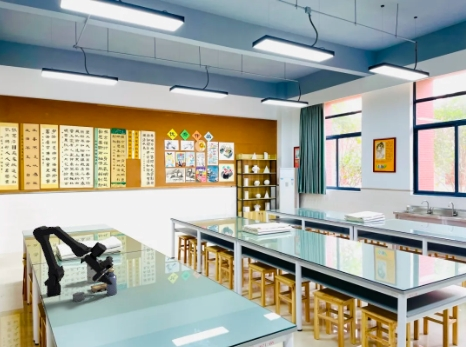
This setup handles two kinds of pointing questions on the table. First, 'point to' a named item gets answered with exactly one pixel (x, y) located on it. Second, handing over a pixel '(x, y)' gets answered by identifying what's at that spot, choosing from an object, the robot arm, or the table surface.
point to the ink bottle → (112, 288)
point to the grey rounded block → (78, 296)
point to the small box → (90, 274)
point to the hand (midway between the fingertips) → (114, 282)
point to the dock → (98, 287)
